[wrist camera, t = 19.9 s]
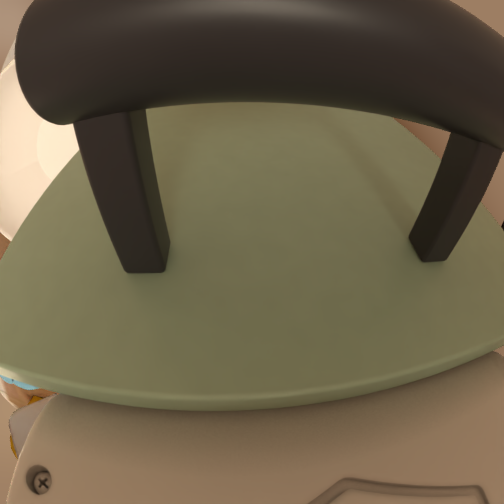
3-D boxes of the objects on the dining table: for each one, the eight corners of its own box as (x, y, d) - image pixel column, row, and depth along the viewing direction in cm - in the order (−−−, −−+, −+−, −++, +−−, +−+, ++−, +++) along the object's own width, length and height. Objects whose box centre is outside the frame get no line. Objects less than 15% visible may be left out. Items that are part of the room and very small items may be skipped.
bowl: (182, 191, 26) (166, 210, 19) (43, 249, 27) (11, 276, 20) (130, 22, 18) (104, -5, 12) (0, 110, 19) (-38, 112, 12)
